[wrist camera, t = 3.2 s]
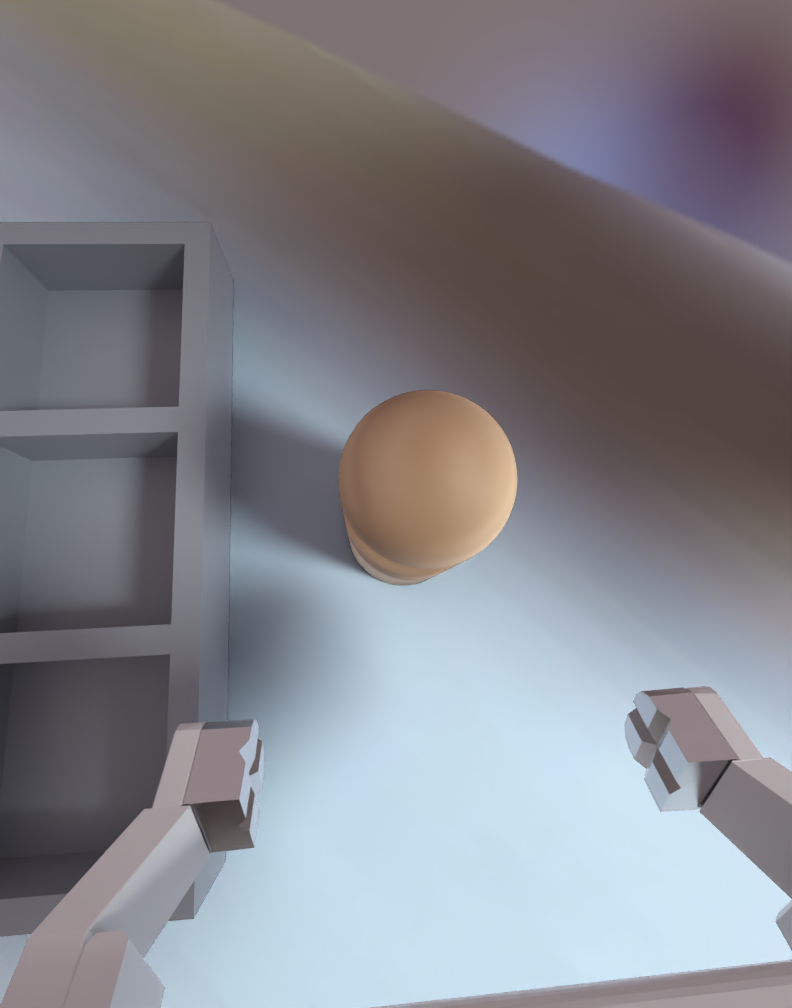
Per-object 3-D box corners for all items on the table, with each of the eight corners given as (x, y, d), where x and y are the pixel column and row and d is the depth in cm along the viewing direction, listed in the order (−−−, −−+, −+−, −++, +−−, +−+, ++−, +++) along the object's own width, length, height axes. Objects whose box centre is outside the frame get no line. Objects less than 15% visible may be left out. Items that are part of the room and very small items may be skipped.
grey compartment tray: (233, 280, 25) (210, 222, 21) (225, 860, 20) (193, 918, 16) (38, 282, 24) (-22, 222, 20) (-22, 881, 19) (-115, 946, 15)
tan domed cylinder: (452, 476, 23) (532, 354, 12) (460, 582, 22) (554, 554, 11) (346, 480, 23) (330, 358, 12) (350, 588, 22) (336, 565, 11)
